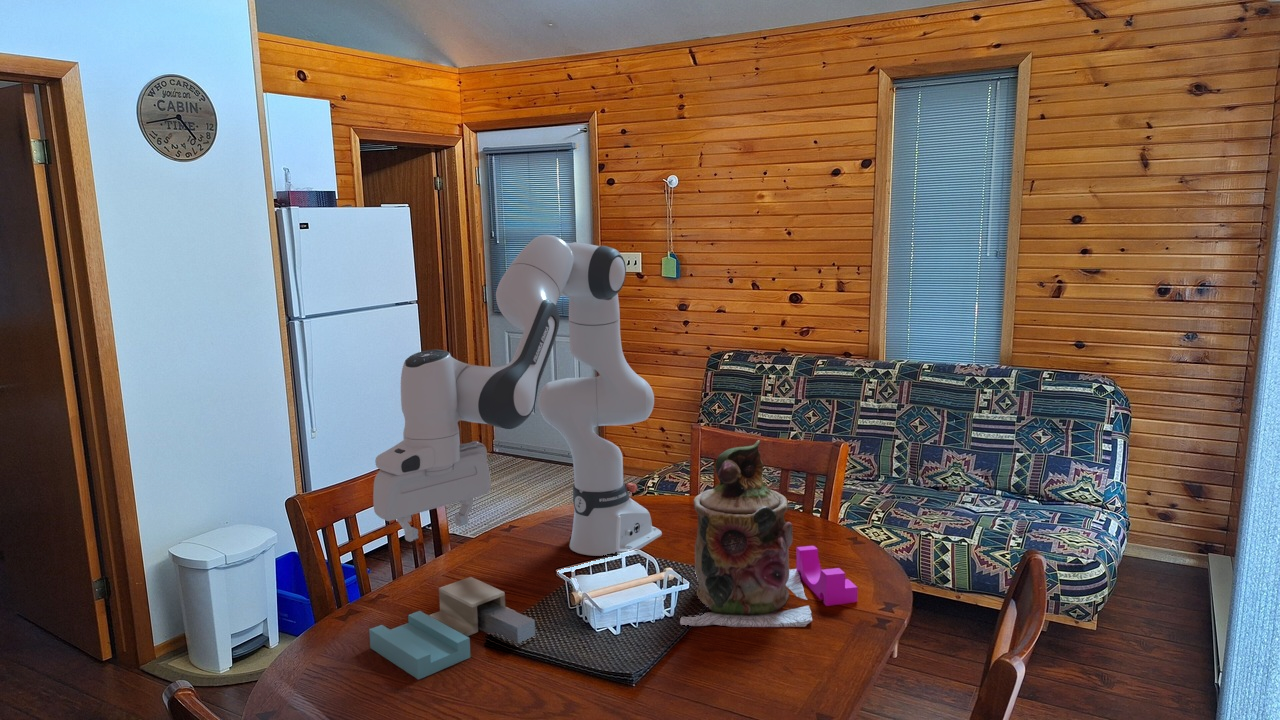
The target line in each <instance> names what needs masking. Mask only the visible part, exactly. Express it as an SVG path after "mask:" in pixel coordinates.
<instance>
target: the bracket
mask: <svg viewBox="0 0 1280 720" xmlns="http://www.w3.org/2000/svg"><path fill="white" fill-rule="evenodd" d="M438 596H439V611H436V612H433V613H432V614H428V616H430V617H432V618H434V619H436V620H438V621H439V622H441V623H443V624H445V625H447V626H449V627H450V628H452V629H454V630H456V631H458V632H460V633H461V634H463V635H465V636H467V637H469V636H473V635H474V634H476V633H478V632H479V629H478V617H477V606H478V605H480V604H483V603H486V602H488V601H492V602H494V603H497V604H499V605H501V606H504V607H506V608H508V609H511V607H508V606H506V594H505V591H504V590H501V589H499V588H496V587H494V586H492V585H491V584H488V583H486V582H483V581H481V580H479V579H477V578H474V577H472V576H469V577H466V578H463V579H461V580H458V581H455V582H452V583H449V584H446V585H443V586H440V587H438ZM511 610H513V611H515V612H517V611H516V610H514V609H511Z"/></svg>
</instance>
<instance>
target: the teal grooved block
mask: <svg viewBox="0 0 1280 720" xmlns="http://www.w3.org/2000/svg"><path fill="white" fill-rule="evenodd" d="M407 616H408V617H407V619H408V620H407V621H408V622H407V623H405V624H402V625H399V626H397V627H394V628H392V629H390V628H388V627H386V626H385V625H383V624H380V625H377V626H374V627H371V628H369V629H368V633H369V645H370V647H369V648H370V649H371V650H373V651H374V652H376V653H377V654H379V655H380V656H382V657H383V658H384V659H386V660H388V661H389V662H391V663H392V664H394V665H395V666H397V667H399V669H401V670H403V671H404V672H406V673H407V674H409V675H411V676H412V677H414V678H415V679H417V680H418V681H419V680H422V679H424V678H426V677H428V676H431V675H433V674H435V673H438V672H440V671H442V670H444V669H447V668H449V667H451V666H454V665H456V664H459V663H461V662H463V661H465V660H467V659H470V658H471V639H470V637H469V636H465V635H463V634H461V633H460V632H458V631H456V630H454V629H452V628H450V627H449V626H447V625H445V624H443V623H441V622H439V621H438V620H436V619H434V618H432V617H430V616H429V614H427V613H424V612H423V611H421V610H418V611H415V612H413V613H410V614H408V615H407Z"/></svg>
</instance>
